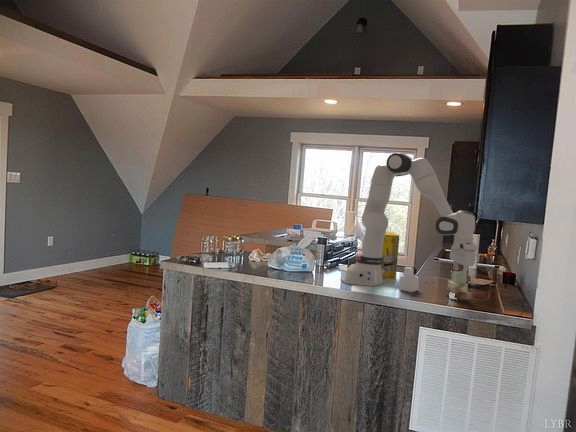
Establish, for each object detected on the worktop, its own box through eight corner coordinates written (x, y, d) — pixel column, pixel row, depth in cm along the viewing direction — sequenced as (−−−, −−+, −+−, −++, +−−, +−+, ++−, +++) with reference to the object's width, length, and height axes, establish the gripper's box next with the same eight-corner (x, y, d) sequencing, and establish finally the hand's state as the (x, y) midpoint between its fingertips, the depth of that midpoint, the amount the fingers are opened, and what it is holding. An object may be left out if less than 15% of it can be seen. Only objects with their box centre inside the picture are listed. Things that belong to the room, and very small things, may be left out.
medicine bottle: (405, 287, 247) (407, 265, 246) (418, 290, 243) (420, 267, 242) (399, 289, 242) (401, 266, 241) (412, 292, 237) (414, 269, 236)
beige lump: (452, 299, 228) (452, 291, 228) (446, 296, 235) (447, 288, 235) (466, 300, 229) (466, 292, 228) (460, 296, 236) (460, 289, 235)
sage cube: (456, 283, 229) (457, 273, 228) (451, 281, 234) (452, 271, 233) (465, 283, 229) (466, 273, 229) (461, 281, 234) (462, 271, 234)
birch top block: (453, 291, 228) (453, 283, 228) (447, 288, 235) (448, 280, 235) (467, 292, 228) (467, 284, 228) (461, 289, 235) (461, 281, 235)
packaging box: (395, 279, 268) (399, 235, 266) (367, 277, 269) (370, 233, 267) (390, 273, 285) (393, 232, 283) (363, 271, 285) (366, 230, 283)
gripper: (448, 240, 240) (445, 267, 241) (465, 246, 220) (462, 276, 221) (460, 241, 240) (457, 268, 241) (478, 247, 220) (475, 276, 221)
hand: (459, 272), depth 231 cm, fingers open, 8 cm apart
